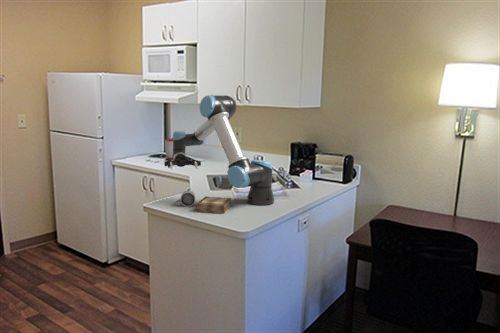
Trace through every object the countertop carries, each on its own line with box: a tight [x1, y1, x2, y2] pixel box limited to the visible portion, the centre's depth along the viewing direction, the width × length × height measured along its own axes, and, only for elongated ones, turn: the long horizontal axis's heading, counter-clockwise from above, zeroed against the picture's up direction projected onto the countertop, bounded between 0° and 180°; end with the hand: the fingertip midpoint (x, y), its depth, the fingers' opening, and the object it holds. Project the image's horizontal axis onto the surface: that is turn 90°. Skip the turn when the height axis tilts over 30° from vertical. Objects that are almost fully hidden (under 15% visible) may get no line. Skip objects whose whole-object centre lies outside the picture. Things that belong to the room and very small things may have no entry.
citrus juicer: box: [164, 136, 173, 160], centre depth 358 cm, size 16×17×20 cm
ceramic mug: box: [174, 190, 196, 208], centre depth 218 cm, size 11×8×8 cm
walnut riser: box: [196, 196, 232, 214], centre depth 212 cm, size 14×15×4 cm
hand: (184, 166), depth 224 cm, fingers open, 13 cm apart
